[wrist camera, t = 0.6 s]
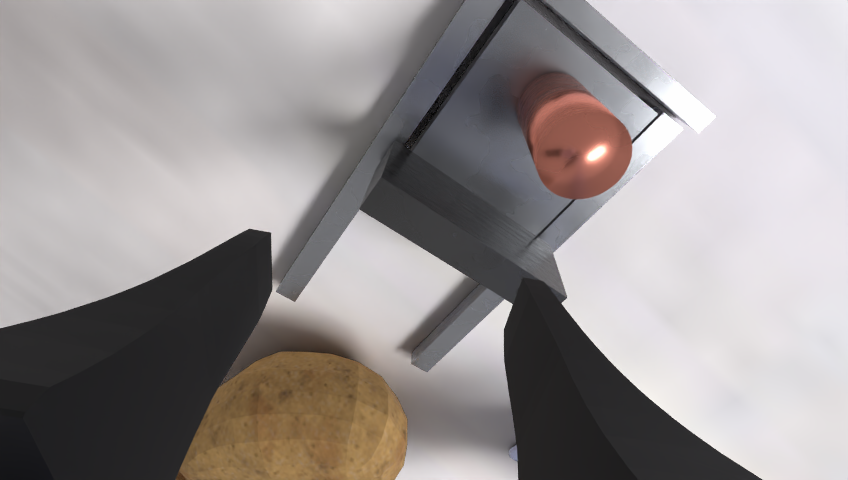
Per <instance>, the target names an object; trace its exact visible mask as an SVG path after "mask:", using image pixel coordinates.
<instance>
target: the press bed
mask: <svg viewBox="0 0 848 480" xmlns="http://www.w3.org/2000/svg"><path fill="white" fill-rule="evenodd" d="M504 1H505V0H465V1H464V2H463V4H462V5H461V7H460V8H459V10H458V11H457V13H456V15H455V16H454V18H453V19H452V21H451V22H450V24H449V25H448V27H447V28H446V30H445V31H444V33H443V34H442V36H441V38H440V39H439V41H438V42H437V44H436V45H435V47H434V48H433V50H432V51H431V53H430V54H429V56H428V58H427V59H426V61H425V62H424V64H423V65H422V67H421V68H420V70H419V71H418V73H417V74H416V76H415V77H414V79H413V81H412V82H411V84H410V85H409V87H408V88H407V90H406V91H405V93H404V94H403V96H402V97H401V99H400V100H399V102H398V104H397V105H396V107H395V108H394V110H393V111H392V113H391V114H390V116H389V117H388V119H387V120H386V122H385V123H384V125H383V127H382V128H381V130H380V131H379V133H378V134H377V136H376V137H375V139H374V140H373V142H372V143H371V145H370V146H369V148H368V150H367V151H366V153H365V154H364V156H363V157H362V159H361V160H360V162H359V163H358V165H357V166H356V168H355V169H354V171H353V173H352V174H351V176H350V177H349V179H348V180H347V182H346V183H345V185H344V186H343V188H342V189H341V191H340V192H339V194H338V196H337V197H336V199H335V200H334V202H333V203H332V205H331V206H330V208H329V209H328V211H327V212H326V214H325V216H324V217H323V219H322V220H321V222H320V223H319V225H318V226H317V228H316V229H315V231H314V232H313V234H312V235H311V237H310V239H309V240H308V242H307V243H306V245H305V246H304V248H303V249H302V251H301V252H300V254H299V255H298V257H297V258H296V260H295V262H294V263H293V265H292V266H291V268H290V269H289V271H288V272H287V274H286V275H285V277H284V278H283V280H282V282H281V283H280V285H279V287H278V289H277V290H276V292H277V293H279V294H281V295H283V296H285V297H287V298H289V299H290V300H292V301H294V302H295V301H296V299H297V298H298V297H299V295H300V294H301V292H302V291H303V289H304V288H305V286H306V285H307V284H308V282H309V281H310V279H311V278H312V276H313V275H314V274H315V272H316V271H317V269H318V268H319V266H320V265H321V264H322V262H323V261H324V259H325V258H326V256H327V255H328V254H329V252H330V251H331V249H332V248H333V246H334V245H335V243H336V242H337V241H338V239H339V238H340V236H341V235H342V233H343V232H344V231H345V229H346V228H347V226H348V225H349V223H350V222H351V221H352V219H353V218H354V216H355V215H356V213H357V212H358V211H359V208H360V205H361V203H362V200H363V198H364V196H365V193H366V191H367V188H368V186H369V184H370V181H371V179H372V177H373V174H374V172H375V169H376V167H377V166H378V164H379V163H380V161H381V160H382V159H383V157H384V156H385V154H386V153H387V151H388V150H389V148H390V147H391V145H392V144H393V142H394V141H395V140H396V141H397V142H399V143H400V144H402V145H403V146H404V145H405V143H406V142H407V140H408V139H409V137H410V136H411V135H412V133H413V132H414V130H415V129H416V127H417V126H418V125H419V123H420V122H421V120H422V119H423V117H424V116H425V115H426V113H427V112H428V110H429V109H430V107H431V106H432V104H433V103H434V102H435V100H436V99H437V97H438V96H439V94H440V93H441V92H442V90H443V89H444V87H445V86H446V84H447V83H448V82H449V80H450V79H451V77H452V76H453V74H454V73H455V72H456V70H457V69H458V67H459V66H460V64H461V63H462V61H463V60H464V59H465V57H466V56H467V54H468V53H469V51H470V50H471V49H472V47H473V46H474V44H475V43H476V41H477V40H478V39H479V37H480V36H481V34H482V33H483V31H484V30H485V29H486V27H487V26H488V24H489V23H490V21H491V20H492V18H493V17H494V16H495V14H496V13H497V11H498V10H499V8H500V7H501V6H502V4H503V3H504ZM540 1H541V2H543V3H544V4H545V5H546V6H547V7H548V8H550V9H551V10H552V11H553V12H554V13H555V14H557V15H558V16H559V17H560V18H561V19H562V20H564V21H565V22H566V23H567V24H568V25H569V26H571V27H572V28H573V29H574V30H575V31H576V32H578V33H579V34H580V35H581V36H582V37H583V38H585V39H586V40H587V41H588V42H589V43H590V44H592V45H593V46H594V47H595V48H596V49H597V50H599V51H600V52H601V53H602V54H603V55H604V56H606V57H607V58H608V59H609V60H610V61H611V62H613V63H614V64H615V65H616V66H617V67H618V68H620V69H621V70H622V71H623V72H624V73H625V74H627V75H628V76H629V77H630V78H631V79H632V80H634V81H635V82H636V83H637V84H638V85H639V86H641V87H642V88H643V89H644V90H645V91H646V92H648V93H649V94H650V95H651V96H652V97H653V98H655V99H656V100H657V101H658V102H659V103H660V104H662V105H663V106H664V107H665V108H666V109H667V110H669V111H670V112H671V113H672V114H673V115H674V116H676V117H677V118H678V119H679V120H681V121H682V122H684V123H685V124H687V125H688V126H690V127H691V128H692V129H694V130H695V131H697V132H698V133H699V132H700V131H701V130H702V129H703V128H704V127H705V126H707V125H708V124H709V123H710V122H711V121H712V120H713V119H714V118H715V117H716V116H715V115H714V114H713V113H712V112H710V111H709V110H708V109H707V108H706V107H705V106H704V105H703V104H701V103H700V102H699V101H698V100H697V99H696V98H695V97H694V96H692V95H691V94H690V93H689V92H688V91H687V90H686V89H685V88H683V87H682V86H681V85H680V84H679V83H678V82H677V81H676V80H674V79H673V78H672V77H671V76H670V75H669V74H668V73H666V72H665V71H664V70H663V69H662V68H661V67H660V66H659V65H657V64H656V63H655V62H654V61H653V60H652V59H651V58H650V57H648V56H647V55H646V54H645V53H644V52H643V51H642V50H641V49H639V48H638V47H637V46H636V45H635V44H634V43H633V42H632V41H630V40H629V39H628V38H627V37H626V36H625V35H624V34H623V33H621V32H620V31H619V30H618V29H617V28H616V27H615V26H614V25H612V24H611V23H610V22H609V21H608V20H607V19H606V18H605V17H603V16H602V15H601V14H600V13H599V12H598V11H597V10H596V9H594V8H593V7H592V6H591V5H590V4H589V3H588V2H587V1H585V0H540ZM653 110H654V111H655V112H656V113H657V114H658V115H657V116H656V117H655V118H654V119H653V120H652V121H651V122H650V123H649V124H648V125H647V126H646V127H645V128H644V129H643V130H642V131H641V132H640V133H639V134H638V135H637V136H636V137H635V138H634V139H633V140H632V157H631V161H630V164H629V166H628V168H627V170H626V172H625V174H624V175H623V176H622V178H621V179H620V180H619V181H618V182H617V183H616V184H615V185H614V186H613V187H611V188H610V189H608V190H607V191H605V192H603V193H601V194H599V195H597V196H594V197H591V198H586V199H573V200H572V201H571V202H570V203H569V204H568V205H567V206H566V207H565V208H564V209H563V210H562V211H561V212H560V213H559V214H558V215H557V216H556V217H555V218H554V219H553V220H552V221H551V222H550V223H549V224H548V225H547V226H546V227H545V228H544V229H543V230H542V231H541V232H540V233H539V234H538V235H537V237H539V238H540V239H542V240H543V241H545V242H546V243H548V244H549V245H550V246H551V249H552V252H554V251H556V250H557V249H558V248H559V247H560V246H561V245H562V244H563V243H564V242H565V241H566V240H567V239H568V238H569V237H570V236H571V235H572V234H573V233H575V232H576V231H577V230H578V229H579V228H580V227H581V226H582V225H583V224H584V223H585V222H586V221H587V220H588V219H589V218H590V217H591V216H592V215H594V214H595V213H596V212H597V211H598V210H599V209H600V208H601V207H602V206H603V205H604V204H605V203H606V202H607V201H608V200H609V199H610V198H611V197H612V196H614V195H615V194H616V193H617V192H618V191H619V190H620V189H621V188H622V187H623V186H624V185H625V184H626V183H627V182H628V181H629V180H630V179H631V178H633V177H634V176H635V175H636V174H637V173H638V172H639V171H640V170H641V169H642V168H643V167H644V166H645V165H646V164H647V163H648V162H649V161H650V160H652V159H653V158H654V157H655V156H656V155H657V154H658V153H659V152H660V151H661V150H662V149H663V148H664V147H665V146H666V145H667V144H668V143H669V142H671V141H672V140H673V139H674V138H675V137H676V136H677V135H678V134H679V133H680V132H681V131H682V130H683V128H682V127H681V126H680V125H678V124H677V123H676V122H675V121H674V120H672V119H671V118H670V117H669V116H668V115H667V114H665V113H664V112H663V111H661V110H660V109H659V108H657V107H656V106H655V107H654V108H653ZM503 300H504V298H502V297H501V296H499V295H497V294H496V293H494V292H493V291H491V290H489V289H488V288H486V287H485V286H483V285H481V284H479V285H478V286H477V287H476V288H475V289H474V290H473V291H472V292H471V293H470V294H469V295H468V296H467V297H466V298H465V299H464V300H463V301H462V302H461V303H460V304H459V305H458V306H457V307H456V308H455V309H454V310H453V311H452V312H451V313H450V314H449V315H448V316H447V317H446V318H445V319H444V320H443V321H442V322H441V323H440V324H439V325H438V326H437V328H436V329H435V330H434V331H433V332H432V333H431V334H430V335H429V336H428V337H427V338H426V339H425V340H424V341H423V342H422V343H421V344H420V345H419V346H418V347H417V348H416V349H415V350H414V351H413V352H412V360H411V364H412V365H414V366H416V367H418V368H420V369H422V370H424V371H425V372H428V371H429V370H430V369H431V368H432V367H433V366H434V365H435V364H436V363H437V362H438V361H440V360H441V359H442V358H443V357H444V356H445V355H446V354H447V353H448V352H449V351H450V350H451V349H452V348H453V347H454V346H455V345H456V344H457V343H459V342H460V341H461V340H462V339H463V338H464V337H465V336H466V335H467V334H468V333H469V332H470V331H471V330H472V329H473V328H474V327H475V326H476V325H477V324H479V323H480V322H481V321H482V320H483V319H484V318H485V317H486V316H487V315H488V314H489V313H490V312H491V311H492V310H493V309H494V308H495V307H496V306H498V305H499V304H500V303H501V302H502V301H503ZM175 480H187V479H186V478H185V477H184V476H183V475H182V474H181V473H180V471H179V472H178V475H177V477H176V479H175Z"/></svg>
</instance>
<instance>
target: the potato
mask: <svg viewBox="0 0 848 480" xmlns="http://www.w3.org/2000/svg"><path fill="white" fill-rule="evenodd" d="M406 449H407V417H406V415H405V413H404V411H403V409H402V407H401V405H400V403H399V401H398V398H397V397H396V395H395V394H394V393H393V391H392V390H391V389H390V387H389V386H388V385H387V383H386V382H385V381H384V379H383V378H382V377H381V376H380V375H378V374H377V373H375V372H373V371H372V370H370V369H369V368H367V367H365V366H364V365H362V364H361V363H359V362H356V361H353V360H350V359H347V358H344V357H340V356H337V355H334V354H326V353H315V352H278V353H275V354H273V355H270V356H267V357H265V358H262V359H260V360H257V361H255V362H254V363H253V364H251V365H250V366H249V367H247V368H246V369H244V370H243V371H242V372H240V373H239V374H237V375H236V376H235V377H233V378H232V379H230V380H229V381H227V382H226V383H224V384H223V385H221V386H220V387H218V389H217V391H216V393H215V395H214V396H213V398H212V400H211V402H210V404H209V406H208V409H207V411H206V413H205V415H204V417H203V419H202V421H201V423H200V425H199V428H198V430H197V432H196V434H195V436H194V438H193V441H192V443H191V445H190V447H189V450H188V452H187V454H186V456H185V458H184V461H183V463H182V465H181V467H180V470H179V471H180V473H181V474H182V475H183V476H184V477H185V478H186V479H187V480H395V478H396V477H397V475H398V473H399V472H400V470H401V469H402V467H403V466H404V461H405V455H406Z"/></svg>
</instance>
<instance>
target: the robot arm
mask: <svg viewBox="0 0 848 480" xmlns="http://www.w3.org/2000/svg"><path fill="white" fill-rule="evenodd" d="M271 292H272V256H271V233H270V232H264V231H258V230H253V229H248V230H246V231H244V232H242V233H240V234H238V235H237V236H235V237H233V238H231V239H229V240H228V241H226V242H224V243H222V244H220V245H219V246H217V247H215V248H213V249H211V250H210V251H208V252H206V253H204V254H202V255H200V256H199V257H197V258H195V259H193V260H191V261H189V262H187V263H185V264H183V265H181V266H179V267H177V268H175V269H173V270H171V271H169V272H167V273H165V274H163V275H161V276H159V277H156V278H154V279H152V280H150V281H148V282H145V283H143V284H141V285H138V286H136V287H133V288H131V289H128V290H126V291H123V292H121V293H118V294H115V295H113V296H110V297H107V298H105V299H102V300H98V301H95V302H92V303H89V304H86V305H83V306H80V307H77V308H74V309H71V310H68V311H65V312H61V313H58V314H54V315H51V316H47V317H44V318H40V319H36V320H33V321H29V322H24V323H20V324H16V325H12V326H8V327H4V328H0V480H175V479H176V477H177V475H178V472H179V470H180V467H181V465H182V463H183V461H184V458H185V456H186V454H187V452H188V450H189V447H190V445H191V443H192V441H193V438H194V436H195V434H196V432H197V430H198V428H199V425H200V423H201V421H202V419H203V417H204V415H205V413H206V411H207V409H208V406H209V404H210V402H211V400H212V398H213V396H214V395H215V393H216V391H217V389H218V387H219V385H220V384H221V382H222V380H223V379H224V377H225V376H226V374H227V372H228V371H229V369H230V367H231V366H232V364H233V362H234V361H235V359H236V358H237V356H238V354H239V353H240V351H241V349H242V348H243V346H244V344H245V343H246V341H247V340H248V338H249V336H250V335H251V333H252V331H253V330H254V328H255V326H256V324H257V323H258V321H259V319H260V317H261V315H262V313H263V310H264V308H265V306H266V304H267V301H268V299H269V296H270V294H271ZM504 362H505V369H506V376H507V383H508V389H509V396H510V402H511V409H512V415H513V422H514V428H515V435H516V445H515V446H514V447H512V448H511V449H510V450H509V456H510V458H512V459H513V460H515V461H517V462H518V479H519V480H762V479H761V478H759V477H757V476H756V475H754V474H753V473H751V472H750V471H748V470H746V469H745V468H743V467H742V466H740V465H739V464H737V463H736V462H734V461H732V460H731V459H729V458H728V457H726V456H725V455H723V454H721V453H720V452H718V451H717V450H716V449H714V448H713V447H711V446H710V445H709V444H707V443H706V442H704V441H703V440H702V439H700V438H699V437H697V436H696V435H695V434H693V433H692V432H690V431H689V430H688V429H686V428H685V427H684V426H682V425H681V424H680V423H679V422H677V421H676V420H675V419H673V418H672V417H671V416H670V415H668V414H667V413H666V412H665V411H664V410H662V409H661V408H660V407H659V406H657V405H656V404H655V403H654V402H653V401H651V400H650V399H649V398H648V397H647V396H646V395H644V394H643V393H642V392H641V391H640V390H639V389H638V388H637V387H636V386H635V385H633V384H632V383H631V382H630V381H629V380H628V379H627V378H626V377H625V376H624V375H623V374H622V373H621V372H620V371H619V370H618V369H617V368H616V367H615V366H614V365H613V364H612V363H611V362H610V361H609V360H608V359H607V358H606V357H605V356H604V354H603V353H602V352H601V351H600V350H599V349H598V348H597V347H596V346H595V345H594V343H593V342H592V341H591V340H590V339H589V338H588V336H587V335H586V334H585V333H584V332H583V331H582V329H581V328H580V327H579V326H578V324H577V323H576V322H575V321H574V319H573V318H572V317H571V316H570V314H569V313H568V312H567V310H566V309H565V308H564V306H563V305H562V304H561V303H560V301H559V300H558V299H557V297H556V296H555V295H554V293H553V292H552V291H551V289H550V288H549V287H548V286H547V284H546V283H545V282H544V281H541V280H535V279H529V278H524V277H523V278H522V281H521V283H520V286H519V289H518V292H517V295H516V297H515V300H514V303H513V306H512V309H511V311H510V314H509V317H508V320H507V323H506V325H505V328H504Z"/></svg>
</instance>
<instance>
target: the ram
mask: <svg viewBox="0 0 848 480" xmlns="http://www.w3.org/2000/svg"><path fill="white" fill-rule="evenodd" d="M657 115H658V114H657V113H656V112H655V111H654V110H653V109H652V108H650V107H649V106H648V105H647V104H646V103H644V102H643V101H642V100H641V99H640V98H639V97H637V96H636V95H635V94H634V93H633V92H632V91H630V90H629V89H628V88H627V87H626V86H624V85H623V84H622V83H621V82H620V81H619V80H617V79H616V78H615V77H614V76H613V75H611V74H610V73H609V72H608V71H607V70H606V69H604V68H603V67H602V66H601V65H600V64H598V63H597V62H596V61H595V60H594V59H593V58H591V57H590V56H589V55H588V54H587V53H585V52H584V51H583V50H582V49H581V48H580V47H578V46H577V45H576V44H575V43H574V42H573V41H571V40H570V39H569V38H568V37H567V36H565V35H564V34H563V33H562V32H561V31H560V30H558V29H557V28H556V27H555V26H554V25H552V24H551V23H550V22H549V21H548V20H547V19H545V18H544V17H543V16H542V15H541V14H539V13H538V12H537V11H536V10H535V9H534V8H532V7H531V6H530V5H529V4H528V3H526V2H525V1H524V0H515V2H514V3H513V5H512V6H511V7H510V9H509V10H508V12H507V13H506V14H505V16H504V17H503V19H502V20H501V21H500V23H499V24H498V26H497V27H496V28H495V30H494V31H493V33H492V34H491V36H490V37H489V38H488V40H487V41H486V43H485V44H484V45H483V47H482V48H481V50H480V51H479V52H478V54H477V55H476V57H475V58H474V59H473V61H472V62H471V64H470V65H469V67H468V68H467V69H466V71H465V72H464V74H463V75H462V76H461V78H460V79H459V81H458V82H457V83H456V85H455V86H454V88H453V89H452V90H451V92H450V93H449V95H448V96H447V98H446V99H445V100H444V102H443V103H442V105H441V106H440V107H439V109H438V110H437V112H436V113H435V114H434V116H433V117H432V119H431V120H430V121H429V123H428V124H427V126H426V127H425V129H424V130H423V131H422V133H421V134H420V136H419V137H418V138H417V140H416V141H415V143H414V144H413V145H412V147H411V148H410V150H409V149H408V148H406V147H405V146H403V145H402V144H400V143H399V142H397V141H396V140H395V141H394V142H393V144H392V145H391V147H390V148H389V150H388V151H387V153H386V154H385V156H384V157H383V159H382V160H381V161H380V163H379V164H378V166H377V167H376V169H375V172H374V174H373V177H372V179H371V181H370V184H369V186H368V188H367V191H366V193H365V196H364V198H363V200H362V203H361V205H360V208H359V209H360V210H361V211H363V212H365V213H366V214H368V215H369V216H371V217H373V218H374V219H376V220H378V221H379V222H381V223H382V224H384V225H386V226H387V227H389V228H391V229H392V230H394V231H395V232H397V233H399V234H400V235H402V236H404V237H405V238H407V239H408V240H410V241H412V242H413V243H415V244H416V245H418V246H420V247H421V248H423V249H425V250H426V251H428V252H429V253H431V254H433V255H434V256H436V257H438V258H439V259H441V260H442V261H444V262H446V263H447V264H449V265H450V266H452V267H454V268H455V269H457V270H459V271H460V272H462V273H463V274H465V275H467V276H468V277H470V278H472V279H473V280H475V281H476V282H478V283H480V284H481V285H483V286H485V287H486V288H488V289H489V290H491V291H493V292H494V293H496V294H497V295H499V296H501V297H502V298H504V299H506V300H507V301H509V302H510V303H512V304H513V303H514V300H515V297H516V295H517V292H518V289H519V286H520V283H521V281H522V278H523V277H524V278H529V279H535V280H541V281H544V282H545V283H546V284H547V286H548V287H549V288H550V289H551V291H552V292H553V293H554V295H555V296H556V297H557V299H558V300H559V301H560V303H562V302H563V301H564V300H565V299H566V298H567V295H566V292H565V289H564V286H563V283H562V280H561V277H560V274H559V271H558V268H557V264H556V261H555V258H554V255H553V252H552V249H551V246H550V245H549V244H548V243H546V242H545V241H543V240H542V239H540V238H539V237H537V235H538V234H539V233H540V232H541V231H542V230H543V229H544V228H545V227H546V226H547V225H548V224H549V223H550V222H551V221H552V220H553V219H554V218H555V217H556V216H557V215H558V214H559V213H560V212H561V211H562V210H563V209H564V208H565V207H566V206H567V205H568V204H569V203H570V202H571V201H572V200H573V199H586V198H591V197H594V196H597V195H599V194H601V193H603V192H605V191H607V190H608V189H610V188H611V187H613V186H614V185H615V184H616V183H617V182H618V181H619V180H620V179H621V178H622V176H623V175H624V174H625V172H626V170H627V168H628V166H629V164H630V161H631V157H632V140H633V139H634V138H635V137H636V136H637V135H638V134H639V133H640V132H641V131H642V130H643V129H644V128H645V127H646V126H647V125H648V124H649V123H650V122H651V121H652V120H653V119H654V118H655V117H656V116H657Z"/></svg>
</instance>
